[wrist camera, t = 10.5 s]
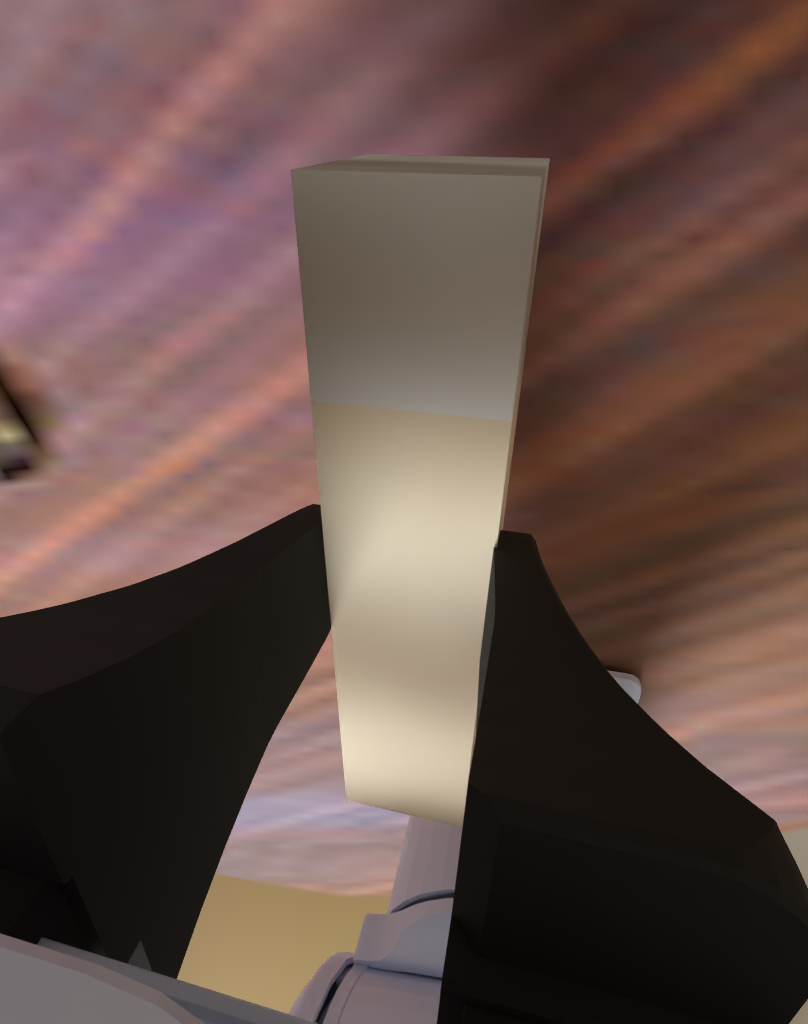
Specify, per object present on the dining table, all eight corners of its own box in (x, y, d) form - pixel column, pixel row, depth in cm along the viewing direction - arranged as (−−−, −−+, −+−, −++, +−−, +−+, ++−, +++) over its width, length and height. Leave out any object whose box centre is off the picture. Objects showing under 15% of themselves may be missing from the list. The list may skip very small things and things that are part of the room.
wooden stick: (479, 710, 17) (462, 826, 14) (381, 691, 18) (346, 800, 15) (549, 157, 9) (542, 177, 7) (369, 154, 10) (290, 169, 7)
